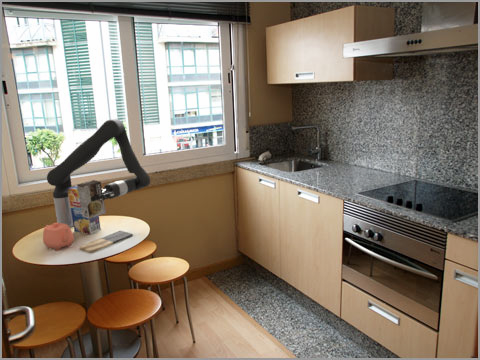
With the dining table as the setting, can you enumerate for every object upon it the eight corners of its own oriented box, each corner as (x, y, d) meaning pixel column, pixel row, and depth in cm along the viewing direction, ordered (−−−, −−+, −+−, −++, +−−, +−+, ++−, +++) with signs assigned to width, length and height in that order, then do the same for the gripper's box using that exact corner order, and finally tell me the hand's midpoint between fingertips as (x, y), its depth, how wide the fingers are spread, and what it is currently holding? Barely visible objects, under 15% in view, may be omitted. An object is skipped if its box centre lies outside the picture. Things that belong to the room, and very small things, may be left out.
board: (79, 248, 187) (78, 246, 186) (120, 232, 205) (120, 230, 205) (91, 253, 181) (91, 251, 180) (132, 235, 199) (132, 233, 199)
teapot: (37, 247, 191) (33, 224, 188) (60, 238, 201) (56, 216, 198) (61, 255, 180) (57, 230, 178) (83, 245, 190) (80, 222, 187)
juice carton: (100, 229, 211) (94, 186, 205) (89, 234, 205) (82, 190, 199) (85, 226, 217) (78, 184, 211) (74, 231, 210) (67, 188, 205)
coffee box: (99, 211, 194) (93, 179, 190) (106, 213, 190) (101, 181, 186) (82, 216, 187) (76, 184, 183) (89, 219, 183) (83, 185, 179)
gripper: (106, 180, 200) (76, 189, 187) (124, 183, 192) (95, 192, 179) (108, 194, 202) (79, 204, 189) (126, 198, 194) (97, 208, 181)
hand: (87, 198), depth 184 cm, fingers closed on coffee box, 6 cm apart
